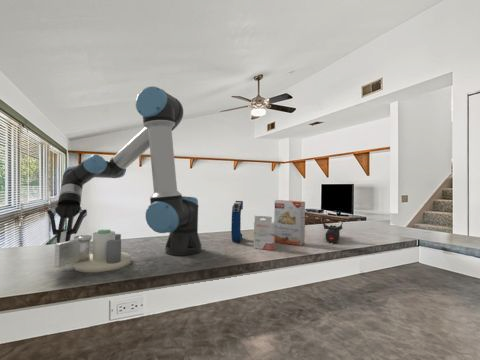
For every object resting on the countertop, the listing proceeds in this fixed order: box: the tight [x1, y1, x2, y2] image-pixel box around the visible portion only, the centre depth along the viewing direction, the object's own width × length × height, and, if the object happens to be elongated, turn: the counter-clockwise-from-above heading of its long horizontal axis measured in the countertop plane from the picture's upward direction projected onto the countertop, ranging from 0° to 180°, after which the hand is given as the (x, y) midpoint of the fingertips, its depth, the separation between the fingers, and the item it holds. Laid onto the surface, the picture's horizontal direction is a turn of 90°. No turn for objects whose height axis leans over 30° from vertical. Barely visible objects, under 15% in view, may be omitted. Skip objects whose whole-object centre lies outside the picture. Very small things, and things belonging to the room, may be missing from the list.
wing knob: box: [54, 234, 93, 268], centre depth 90 cm, size 13×5×8 cm, turn 167°
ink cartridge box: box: [253, 215, 275, 251], centre depth 123 cm, size 9×5×15 cm, turn 68°
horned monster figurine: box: [322, 220, 343, 244], centre depth 144 cm, size 10×22×10 cm, turn 157°
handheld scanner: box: [230, 200, 244, 243], centre depth 139 cm, size 5×16×20 cm, turn 174°
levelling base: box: [73, 229, 132, 273], centre depth 96 cm, size 18×18×12 cm
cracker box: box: [273, 199, 306, 247], centre depth 134 cm, size 14×6×21 cm, turn 55°
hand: (61, 250), depth 93 cm, fingers closed
